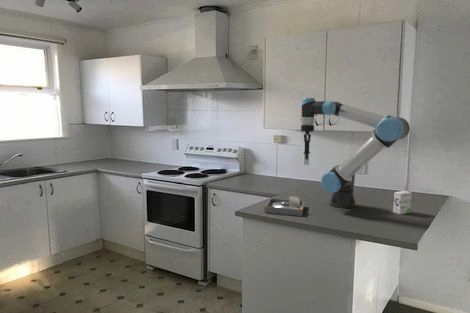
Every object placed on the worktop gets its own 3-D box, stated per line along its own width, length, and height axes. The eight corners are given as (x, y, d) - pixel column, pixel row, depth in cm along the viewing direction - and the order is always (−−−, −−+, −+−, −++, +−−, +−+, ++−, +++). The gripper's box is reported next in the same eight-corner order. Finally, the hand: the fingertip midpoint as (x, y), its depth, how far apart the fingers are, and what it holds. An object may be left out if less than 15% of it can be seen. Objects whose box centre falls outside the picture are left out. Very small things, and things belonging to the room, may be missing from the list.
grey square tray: (304, 206, 217) (304, 200, 216) (301, 216, 197) (302, 209, 197) (269, 203, 221) (270, 197, 221) (264, 212, 202) (264, 206, 201)
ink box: (403, 210, 213) (404, 190, 212) (410, 212, 209) (412, 192, 207) (392, 212, 209) (394, 191, 208) (399, 214, 205) (401, 193, 203)
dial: (267, 207, 206) (267, 195, 205) (278, 202, 219) (278, 190, 218) (293, 212, 199) (294, 199, 198) (303, 206, 212) (303, 194, 211)
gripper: (301, 124, 224) (299, 162, 227) (301, 124, 211) (300, 166, 214) (313, 124, 223) (312, 163, 226) (314, 125, 210) (313, 166, 213)
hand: (306, 164), depth 220 cm, fingers closed
